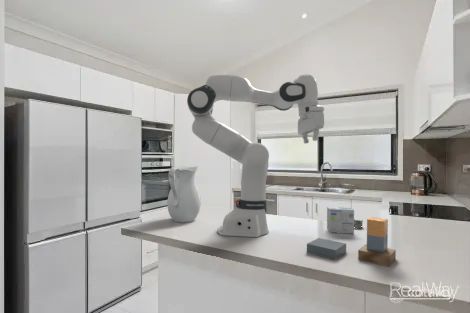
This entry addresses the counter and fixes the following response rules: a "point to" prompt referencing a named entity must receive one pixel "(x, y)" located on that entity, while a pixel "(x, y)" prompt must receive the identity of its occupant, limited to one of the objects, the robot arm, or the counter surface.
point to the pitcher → (183, 194)
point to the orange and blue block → (377, 234)
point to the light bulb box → (340, 219)
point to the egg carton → (357, 223)
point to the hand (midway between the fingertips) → (310, 142)
